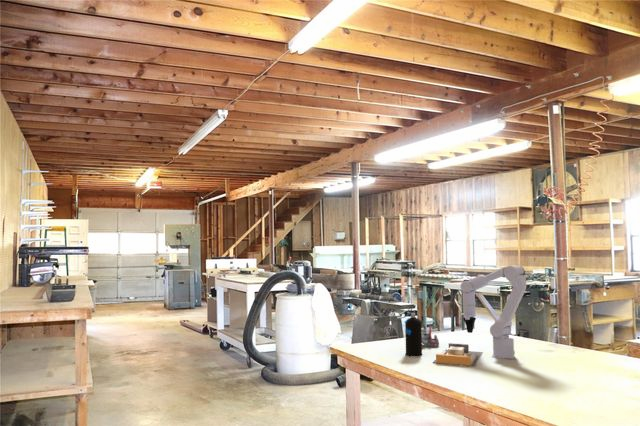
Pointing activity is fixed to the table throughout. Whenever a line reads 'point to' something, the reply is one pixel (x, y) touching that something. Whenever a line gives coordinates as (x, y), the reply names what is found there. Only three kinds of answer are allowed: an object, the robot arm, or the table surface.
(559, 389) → the table surface
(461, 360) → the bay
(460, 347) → the grey beige angular piece
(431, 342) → the brake caliper
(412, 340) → the aerosol can
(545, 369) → the table surface
